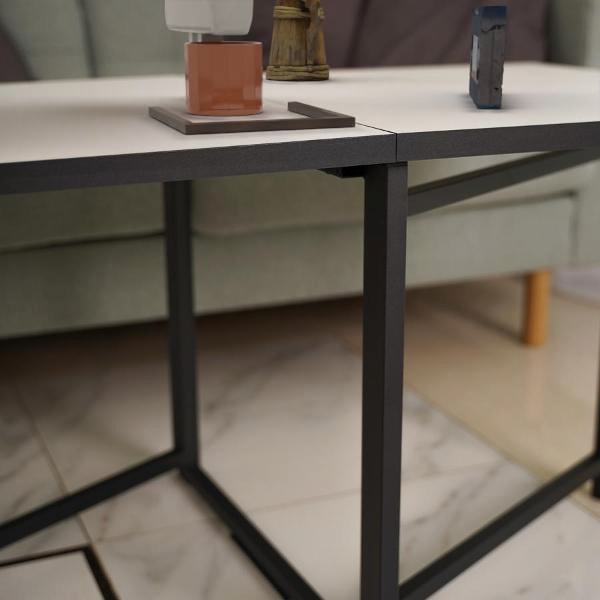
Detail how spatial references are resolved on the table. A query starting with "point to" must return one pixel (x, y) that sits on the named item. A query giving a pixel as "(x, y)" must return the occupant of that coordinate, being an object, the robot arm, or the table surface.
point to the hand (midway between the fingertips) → (206, 79)
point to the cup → (223, 78)
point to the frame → (258, 121)
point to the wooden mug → (298, 42)
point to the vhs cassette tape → (487, 55)
